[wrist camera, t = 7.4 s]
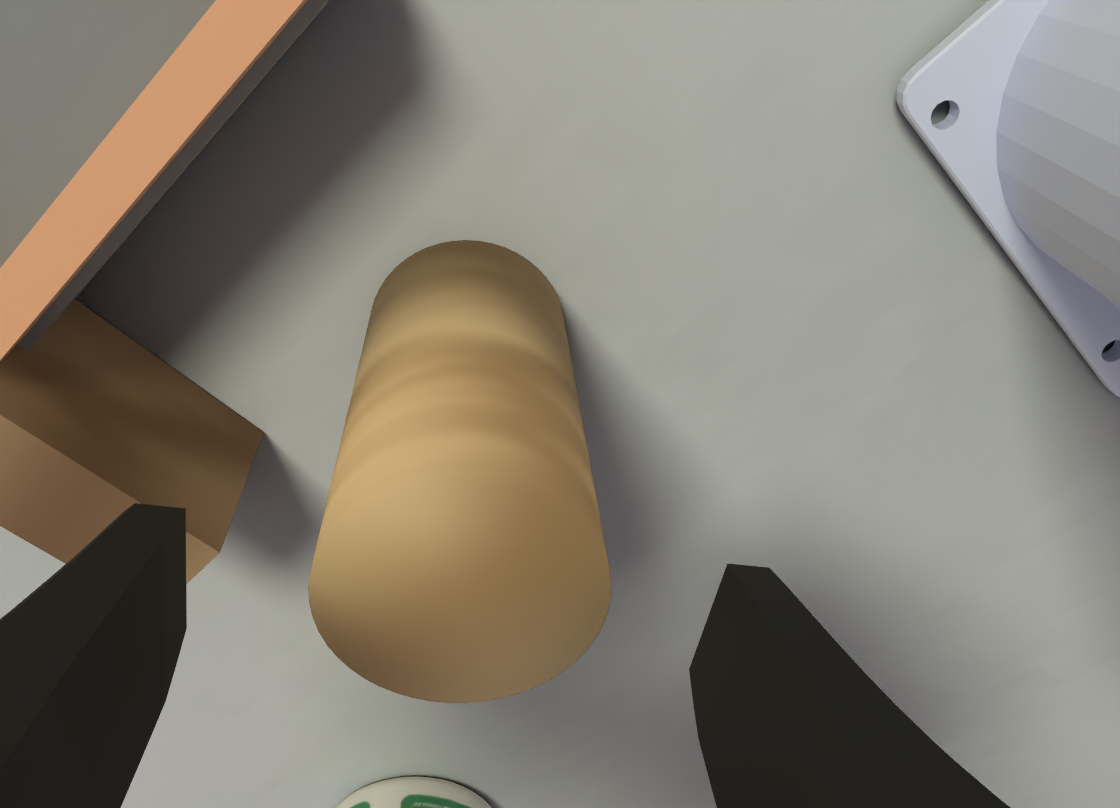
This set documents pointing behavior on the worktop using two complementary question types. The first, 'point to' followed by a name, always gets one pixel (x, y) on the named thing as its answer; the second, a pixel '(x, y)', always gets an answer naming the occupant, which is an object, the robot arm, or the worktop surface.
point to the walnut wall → (113, 441)
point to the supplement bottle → (413, 795)
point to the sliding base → (110, 126)
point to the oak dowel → (462, 488)
